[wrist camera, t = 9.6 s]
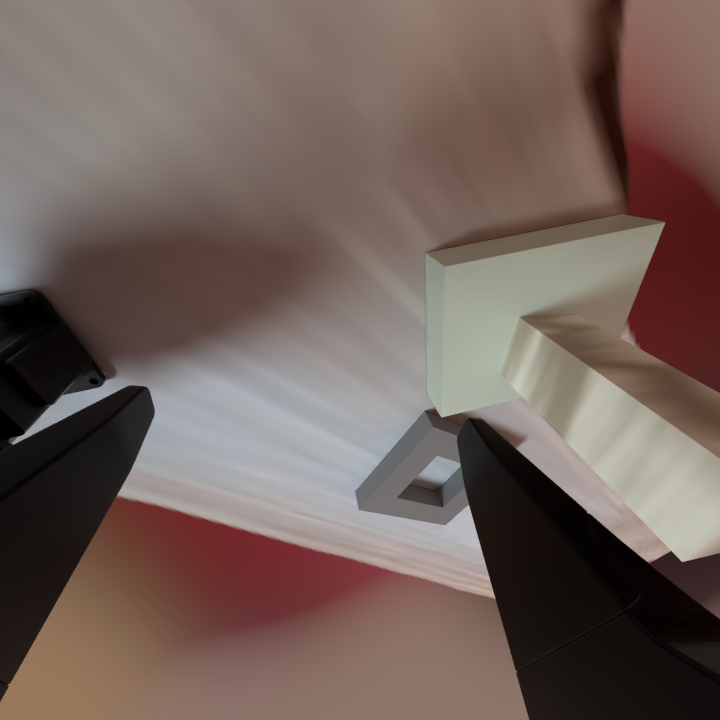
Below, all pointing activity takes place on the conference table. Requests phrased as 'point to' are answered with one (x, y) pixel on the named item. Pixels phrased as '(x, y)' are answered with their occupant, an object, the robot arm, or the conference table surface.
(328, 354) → the conference table surface
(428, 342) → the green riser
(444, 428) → the pocket holder
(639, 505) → the cream block
